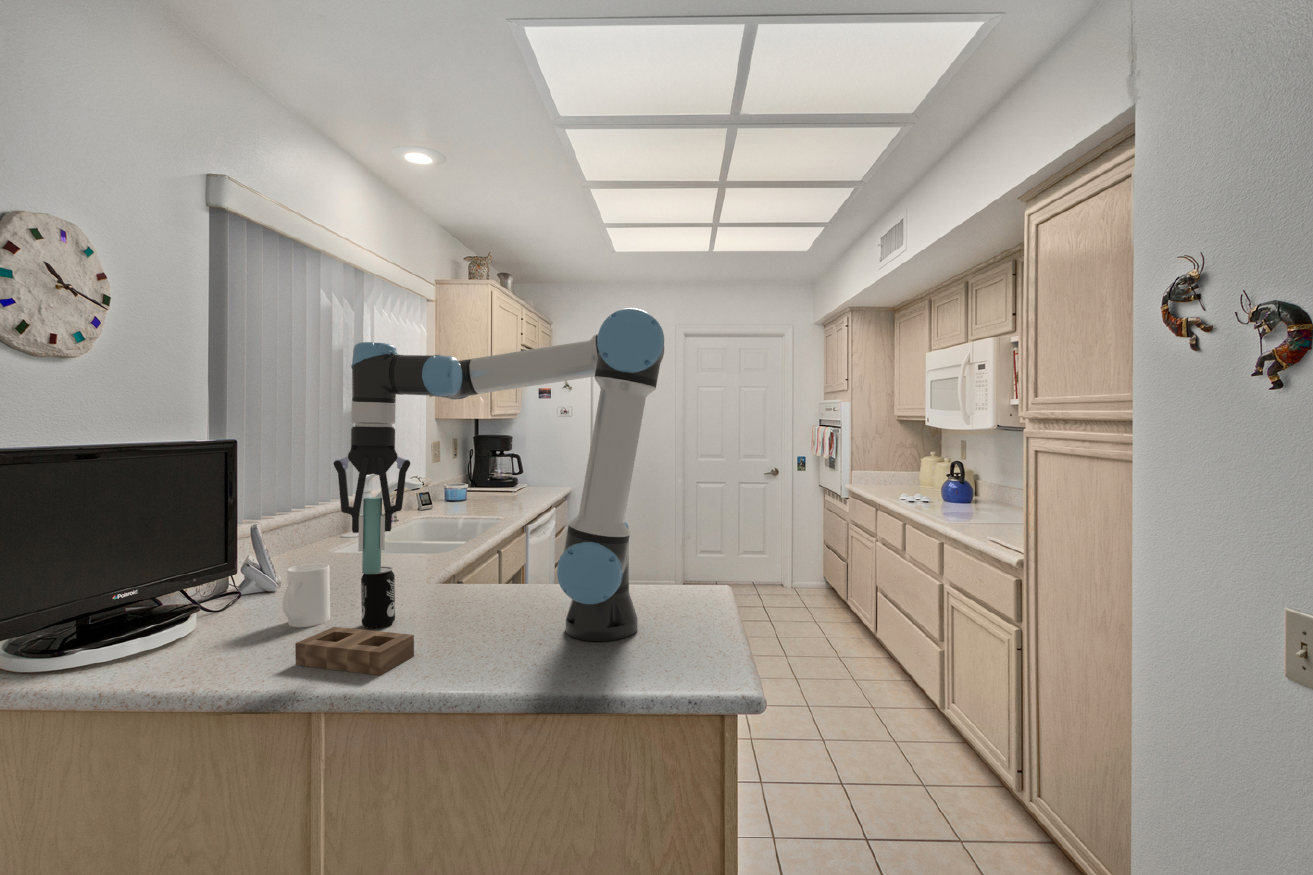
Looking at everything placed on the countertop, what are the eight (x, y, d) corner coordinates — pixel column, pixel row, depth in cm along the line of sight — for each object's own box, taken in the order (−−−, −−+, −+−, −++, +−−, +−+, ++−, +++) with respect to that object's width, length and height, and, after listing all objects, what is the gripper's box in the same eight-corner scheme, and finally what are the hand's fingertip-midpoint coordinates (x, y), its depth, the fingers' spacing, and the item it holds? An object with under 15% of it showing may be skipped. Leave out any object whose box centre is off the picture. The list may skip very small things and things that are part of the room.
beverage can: (382, 630, 127) (381, 573, 126) (354, 628, 128) (354, 572, 128) (401, 620, 133) (400, 566, 133) (375, 618, 134) (374, 565, 134)
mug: (265, 633, 125) (264, 576, 125) (302, 615, 137) (301, 563, 137) (304, 634, 125) (303, 576, 124) (337, 616, 137) (336, 563, 136)
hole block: (414, 655, 113) (413, 634, 112) (380, 675, 104) (380, 652, 104) (334, 647, 117) (334, 626, 117) (295, 665, 108) (295, 643, 108)
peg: (384, 570, 115) (385, 498, 115) (372, 574, 112) (373, 500, 112) (370, 569, 116) (372, 497, 116) (358, 573, 113) (359, 498, 113)
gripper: (418, 426, 120) (416, 543, 121) (327, 424, 114) (325, 547, 114) (420, 426, 114) (418, 550, 114) (323, 424, 107) (321, 556, 108)
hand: (371, 548), depth 114 cm, fingers closed on peg, 3 cm apart
